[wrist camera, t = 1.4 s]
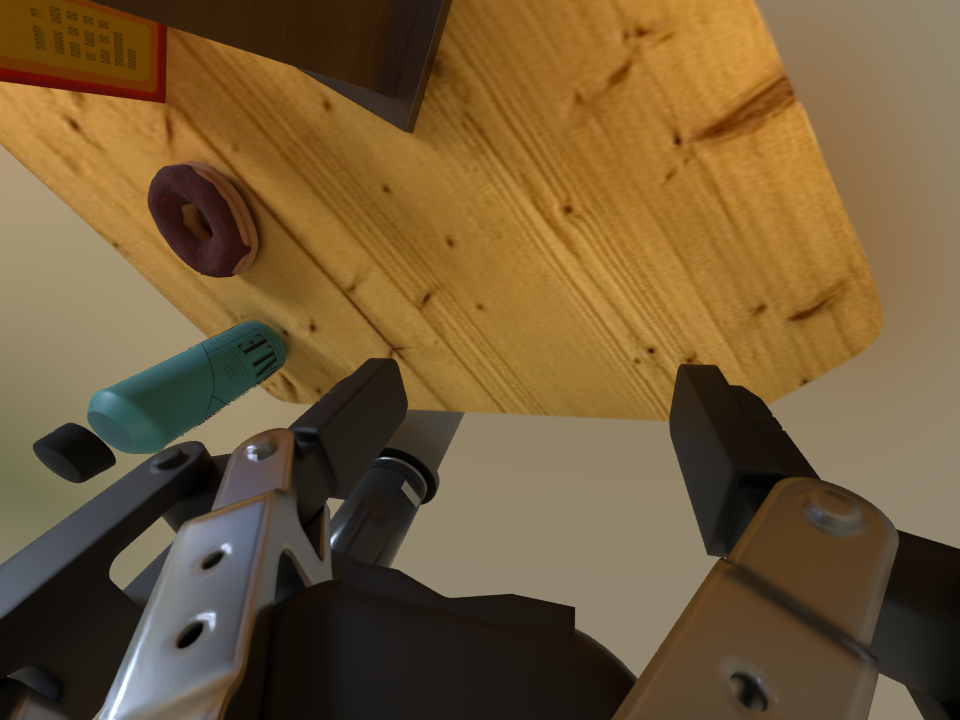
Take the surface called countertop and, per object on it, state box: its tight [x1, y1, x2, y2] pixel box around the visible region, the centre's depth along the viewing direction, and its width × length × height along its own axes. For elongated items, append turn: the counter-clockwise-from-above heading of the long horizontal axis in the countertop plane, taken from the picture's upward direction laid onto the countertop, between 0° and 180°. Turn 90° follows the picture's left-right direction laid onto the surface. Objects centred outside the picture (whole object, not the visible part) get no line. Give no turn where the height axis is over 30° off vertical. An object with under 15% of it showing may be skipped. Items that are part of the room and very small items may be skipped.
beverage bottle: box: [33, 321, 286, 483], centre depth 32 cm, size 6×7×20 cm
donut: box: [148, 161, 259, 278], centre depth 33 cm, size 10×10×4 cm
